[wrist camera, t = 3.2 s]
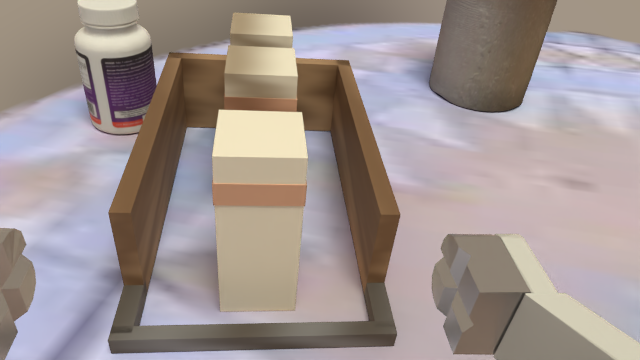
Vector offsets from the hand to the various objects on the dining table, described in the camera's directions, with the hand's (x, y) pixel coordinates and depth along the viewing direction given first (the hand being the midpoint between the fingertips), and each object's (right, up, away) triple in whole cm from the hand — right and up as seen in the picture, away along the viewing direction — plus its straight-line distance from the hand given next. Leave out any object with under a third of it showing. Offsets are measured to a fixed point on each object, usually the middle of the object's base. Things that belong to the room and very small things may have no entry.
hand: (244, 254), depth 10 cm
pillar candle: (+17, +11, +42) cm, 47 cm away
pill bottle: (-15, +6, +32) cm, 35 cm away
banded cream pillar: (-2, -4, +19) cm, 19 cm away
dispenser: (-3, 0, +24) cm, 24 cm away
